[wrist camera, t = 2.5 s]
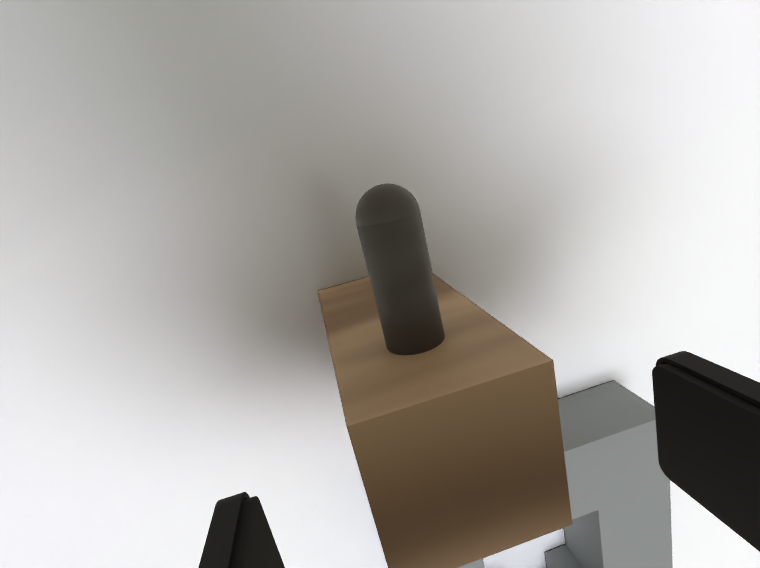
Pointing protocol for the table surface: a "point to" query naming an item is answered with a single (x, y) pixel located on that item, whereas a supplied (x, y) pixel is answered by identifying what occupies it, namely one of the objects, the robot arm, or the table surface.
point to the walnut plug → (440, 403)
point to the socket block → (612, 483)
